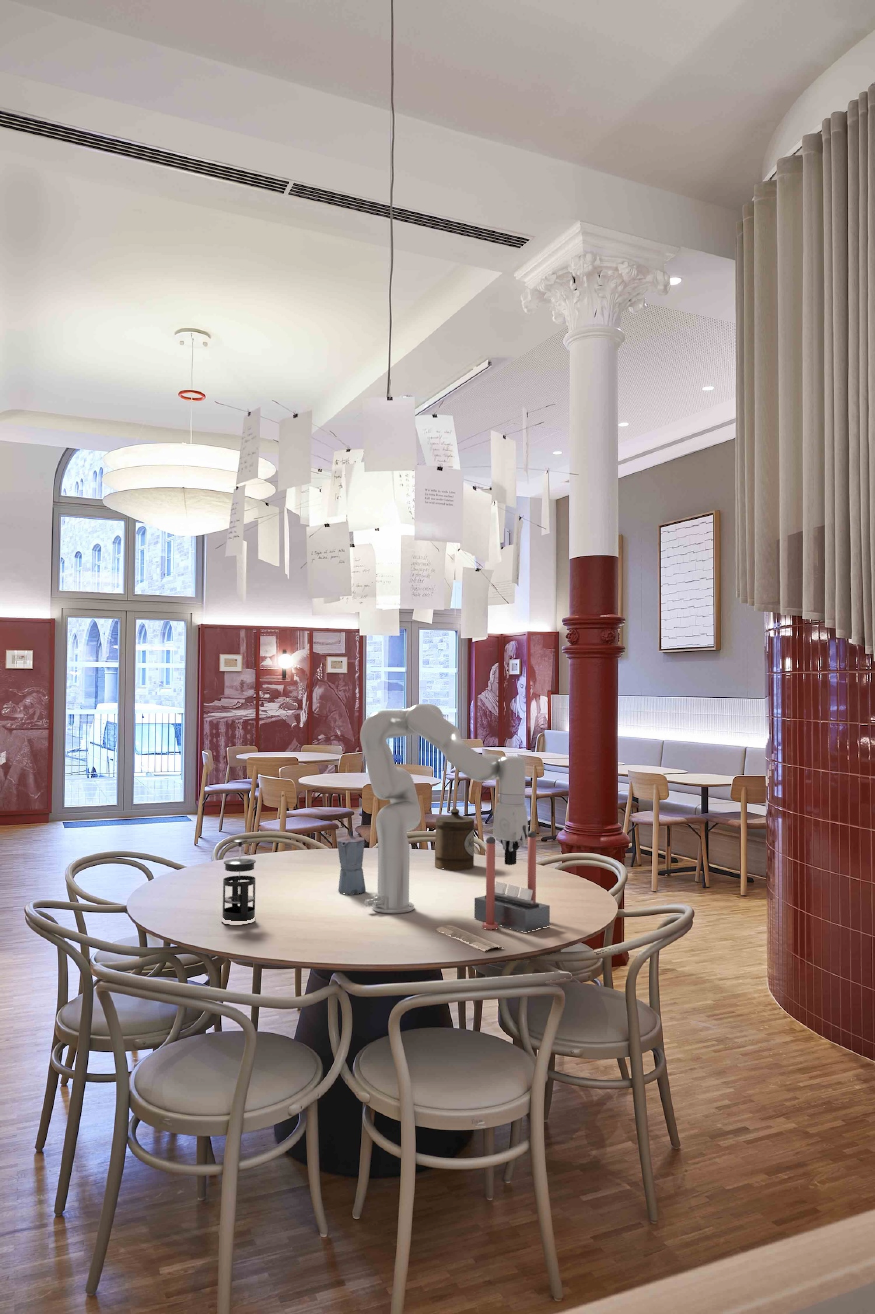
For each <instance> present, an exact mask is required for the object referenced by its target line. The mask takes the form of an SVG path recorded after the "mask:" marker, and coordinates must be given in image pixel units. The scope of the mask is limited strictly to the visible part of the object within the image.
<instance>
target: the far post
mask: <svg viewBox="0 0 875 1314" xmlns="http://www.w3.org/2000/svg"><path fill="white" fill-rule="evenodd" d="M536 872H537V833H536V831H535V830H528V837H527V889H530V890H533V893H532V897H531V900H532V901H533V902H537V883H536V882H537V873H536Z"/></svg>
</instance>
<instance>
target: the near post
mask: <svg viewBox="0 0 875 1314" xmlns="http://www.w3.org/2000/svg"><path fill="white" fill-rule="evenodd" d="M485 842H486V843H485V844H486V859H485V861H486V864H485V865H486V866H485V867H486V869H485V870H486V873H485V879H486V881H485V882H486V883H485V889H486V890H485V895H486V922H484V921H482V923H481V924H482V926H481V927H483V928H486V929H490V930H489V931H493V930H492V929H496V928H498V929H499V926H498V923H496V922H495V885H496V881H495V880H496V838H495V837H494V836H491V835H490V836H488V837H486V840H485ZM483 928H482V929H483Z"/></svg>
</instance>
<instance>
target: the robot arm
mask: <svg viewBox="0 0 875 1314" xmlns="http://www.w3.org/2000/svg"><path fill="white" fill-rule="evenodd" d="M412 735H413V736H414V735H418V736H420V737H421V738H422V739H424V740H425V741H427V742H428V743H429V744H431V745H432V746H434V747H435V748H436V749H438V751H440V753H442V755H443V756H444V757H445V758H446V760H447V761H448V762H449V763H450V764H451V765H452V766H453V767H454V768H455V769H457V770H458V771H459V772H460V773H462V774H463V775H465V776H466V777H467V778H469V779H470V780H472V781H474V782H478V783H483V782H489V781H493V780H498V794H497V796H496V798H497V799H498V802H497V803H496V805H495V809H494V814H493V822H492V823H493V825H492V826H493V827H492V835H493V836H492V837H494V838H495V841H497V842H499V843H500V844H501V845H502V849H503V850H504V865H506V866H507V865H508V866H514V865H516V864H517V851H519V849H520V847H523V846H526V845H527V840H528V832H529V819H528V811H527V806H526V760H525V759H524V757H521V756H513V755H512V756H511V755H509V756H508V755H507V756H504V755H503V756H502V755H498V754H494V753H493V754H491V753H488V754H480V753H479V752H477V751H476V750H475V749H473V748H472V747H470V746H469V745H468V744H467V743H466V742H465V741H464V740H463V738H462V737H461V731H460V729H459V728H458V727H457V726H456V725H454V724H452V722H450V721H449V720H447V719H446V718H444V713H443V712H442V710H441V709H440V708H439V707H438V706H436V704H435V705H434V704H431V703H420V704H419V703H418V704H415V705H413V706H411V707H410V708H409V707H408V708H405V709H403V708H402V709H394V710H393V709H392V710H391V709H389V710H388V709H386V710H385V709H383V710H378V711H376V712H373V713H371V714H370V715H369V716H367V718H366V719H365V720H364V722H363V723H362V725H361V728H360V733H359V739H360V741H359V742H360V745H361V749H362V752H363V756H364V759H365V763H366V768H367V773H368V777H369V780H370V786H371V789H372V793H373V795H374V796H375V797H376V798H377V799H379V800H381V801H388V800H389V802H390V803H388V804H385V806H383V807H381V809H380V810H379V811H378V813H377V814H376V817H375V829H376V835H377V893H375V894H374V896H373V897H372V898H368V899H364V901H363V902H364V906H365V907H370V906H372V910H373V911H374V912H378V913H382V914H404V913H408V912H411V911H413V910H414V909H415V904H414V903H412V902H410V843H409V839H408V834H407V832H408V833H409V832H411V831H413V830H415V829H417V827H418V826H419V825H420V824H421V823H420V822H421V820H422V811H421V807H420V802H419V797H418V793H417V791H416V790H417V789H416V786H415V781H414V779H413V777H412V774H411V773H410V772H409V771H408V770H407V769H405V768H403V767H401V766H397V765H396V763H395V760H394V755H393V752H392V749H391V747H390V745H389V744H388V741H387V740H388V739H390V738H391V739H392V738H401V737H408V736H412Z"/></svg>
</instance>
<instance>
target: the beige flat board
mask: <svg viewBox="0 0 875 1314" xmlns="http://www.w3.org/2000/svg"><path fill="white" fill-rule="evenodd" d="M436 930H437V931H440V932H444V934H447V935H451V937H456V938H459V939H462V940H463V941H466V942H469V944H473V945H476V946H478V948H481V949H485V950H487V951H488V950H490V949H494V948H497V947H499V948H502V947H503V948H504V949H505V947H504V946H501V945H499V944H497V943H494V942H492V941H489V940H488V939H486V938H483V937H481V936H478V935H475V934H473V933H471V932H468V931H466V930H464V929H461V928H459V927H457V926H454V925H443V926H440V927H438V928H436ZM436 930H435V931H436ZM437 931H436V932H437ZM440 932H439V933H440ZM444 934H443V935H444ZM451 937H450V938H451ZM499 948H498V949H499Z"/></svg>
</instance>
